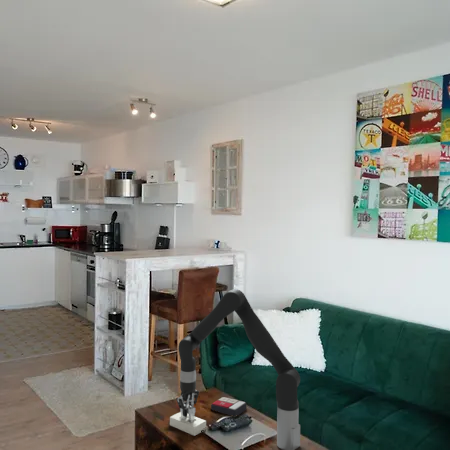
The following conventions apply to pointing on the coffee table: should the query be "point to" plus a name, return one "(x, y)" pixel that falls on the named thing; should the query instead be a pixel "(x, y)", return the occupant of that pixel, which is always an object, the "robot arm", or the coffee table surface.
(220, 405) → the dark red white box
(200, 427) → the cream white box
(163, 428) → the coffee table surface
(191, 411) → the clip
